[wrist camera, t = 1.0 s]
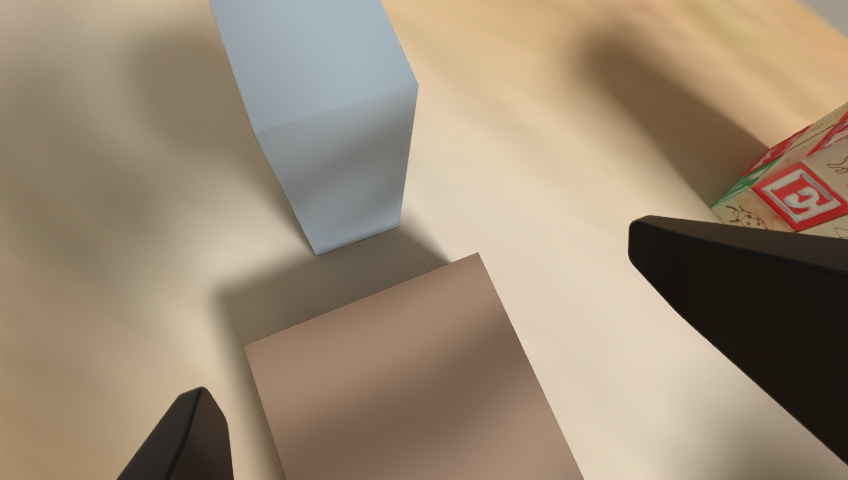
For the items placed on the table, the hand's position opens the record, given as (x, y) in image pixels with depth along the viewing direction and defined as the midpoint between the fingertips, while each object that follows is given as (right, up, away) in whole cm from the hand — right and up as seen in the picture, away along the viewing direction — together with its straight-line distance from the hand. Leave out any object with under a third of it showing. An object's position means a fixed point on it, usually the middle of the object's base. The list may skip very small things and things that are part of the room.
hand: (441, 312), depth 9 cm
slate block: (-4, +3, +15) cm, 16 cm away
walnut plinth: (-1, -6, +12) cm, 14 cm away
